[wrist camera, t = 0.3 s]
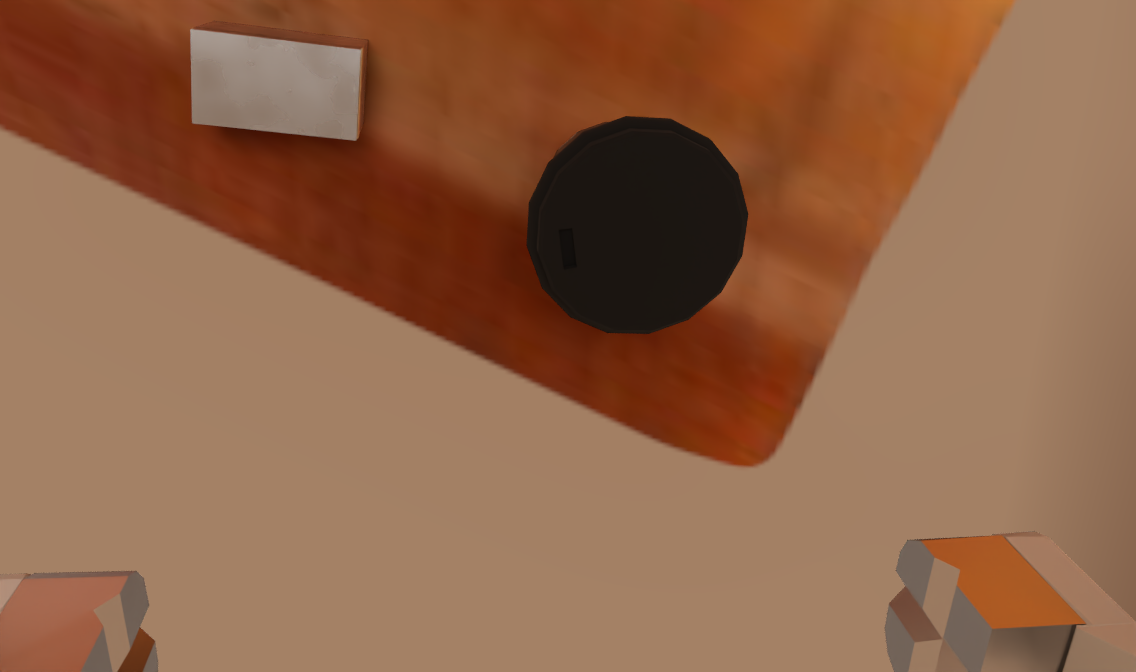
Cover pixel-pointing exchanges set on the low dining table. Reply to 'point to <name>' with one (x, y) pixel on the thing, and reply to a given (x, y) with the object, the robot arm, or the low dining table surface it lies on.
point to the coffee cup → (636, 224)
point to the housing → (278, 80)
